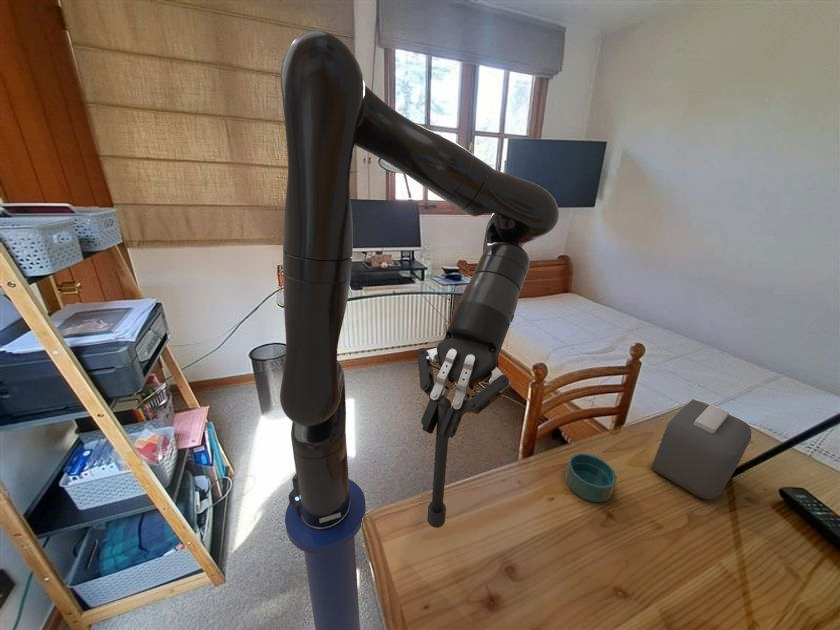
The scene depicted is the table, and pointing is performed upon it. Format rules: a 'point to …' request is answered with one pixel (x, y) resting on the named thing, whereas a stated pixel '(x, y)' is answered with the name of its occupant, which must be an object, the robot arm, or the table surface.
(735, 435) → the alarm clock
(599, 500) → the bowl
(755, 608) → the table surface
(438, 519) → the long dark rod
